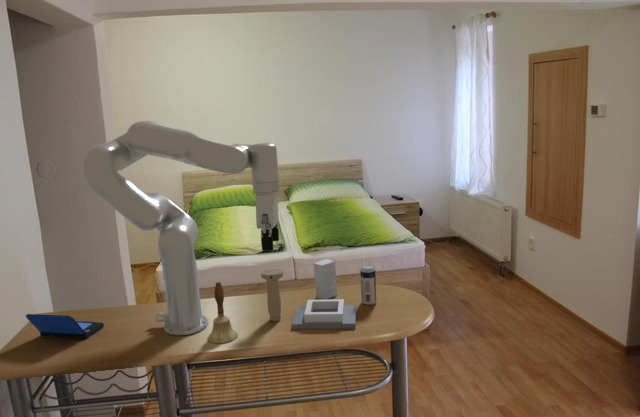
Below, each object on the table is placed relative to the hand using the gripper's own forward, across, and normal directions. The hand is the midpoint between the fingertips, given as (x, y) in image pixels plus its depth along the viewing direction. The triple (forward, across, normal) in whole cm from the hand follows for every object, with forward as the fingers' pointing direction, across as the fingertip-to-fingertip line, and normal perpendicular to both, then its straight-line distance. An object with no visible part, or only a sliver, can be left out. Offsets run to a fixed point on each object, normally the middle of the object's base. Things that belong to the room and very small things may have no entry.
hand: (270, 245), depth 148 cm
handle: (+23, 0, 0) cm, 23 cm away
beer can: (+24, -12, +28) cm, 38 cm away
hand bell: (+23, +11, -13) cm, 29 cm away
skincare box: (+24, -18, +14) cm, 33 cm away
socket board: (+23, 0, +15) cm, 27 cm away
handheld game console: (+23, +8, -60) cm, 65 cm away
